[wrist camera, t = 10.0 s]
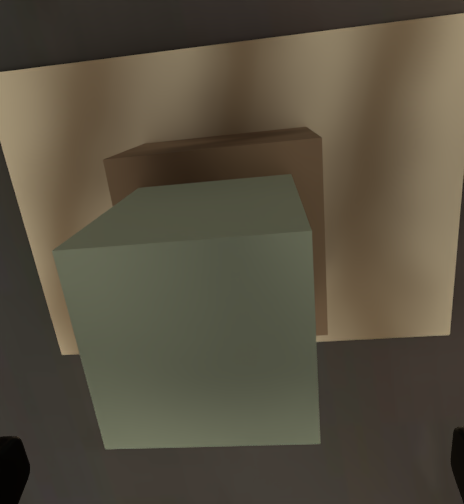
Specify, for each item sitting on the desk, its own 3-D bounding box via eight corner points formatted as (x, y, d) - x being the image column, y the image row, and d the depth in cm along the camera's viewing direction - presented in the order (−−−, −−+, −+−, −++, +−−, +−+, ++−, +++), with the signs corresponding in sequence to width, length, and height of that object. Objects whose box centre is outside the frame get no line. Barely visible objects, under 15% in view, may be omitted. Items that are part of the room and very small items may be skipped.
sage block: (291, 173, 13) (311, 231, 8) (298, 313, 15) (320, 444, 9) (138, 188, 14) (51, 250, 8) (163, 320, 15) (105, 449, 10)
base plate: (465, 16, 16) (570, -26, 11) (441, 324, 21) (505, 406, 16) (-5, 75, 18) (-122, 66, 13) (70, 344, 23) (8, 423, 18)
